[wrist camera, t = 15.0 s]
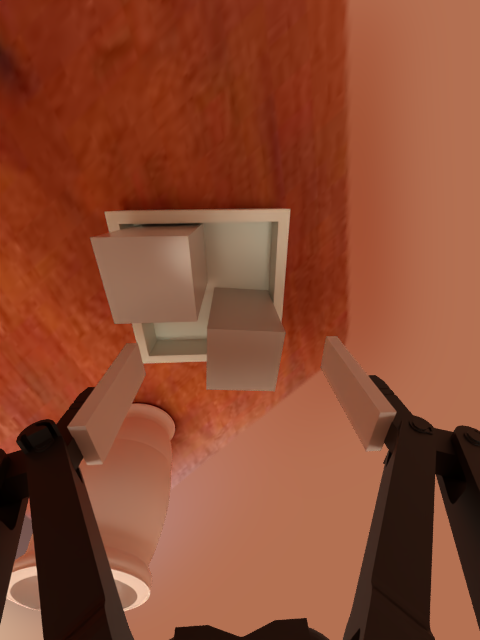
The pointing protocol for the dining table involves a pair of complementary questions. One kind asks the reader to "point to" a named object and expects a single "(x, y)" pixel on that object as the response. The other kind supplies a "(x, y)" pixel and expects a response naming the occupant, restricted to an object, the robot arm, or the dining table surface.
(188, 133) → the dining table surface
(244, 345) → the grey rectangular block
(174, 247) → the tall grey rectangular prism
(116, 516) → the jar
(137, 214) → the bin
